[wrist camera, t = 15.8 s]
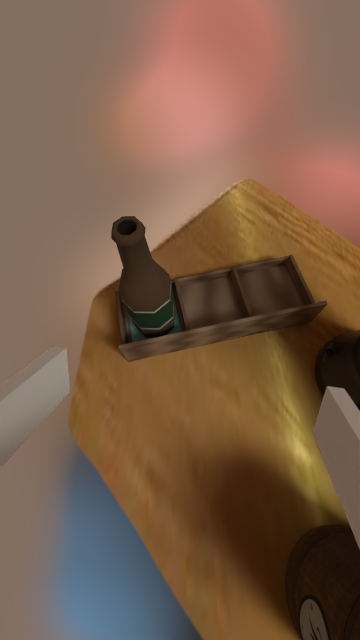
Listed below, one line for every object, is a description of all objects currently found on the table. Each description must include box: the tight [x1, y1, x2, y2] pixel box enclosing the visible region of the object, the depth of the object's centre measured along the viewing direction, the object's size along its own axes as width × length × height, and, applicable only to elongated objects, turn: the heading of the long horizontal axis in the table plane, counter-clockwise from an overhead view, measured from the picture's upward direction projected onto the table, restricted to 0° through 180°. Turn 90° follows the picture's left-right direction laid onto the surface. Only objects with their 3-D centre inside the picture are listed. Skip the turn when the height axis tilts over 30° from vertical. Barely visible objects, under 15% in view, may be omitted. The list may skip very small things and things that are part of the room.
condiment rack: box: [115, 255, 327, 361], centre depth 49 cm, size 34×13×7 cm, turn 102°
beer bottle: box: [112, 216, 175, 338], centre depth 40 cm, size 8×8×24 cm
